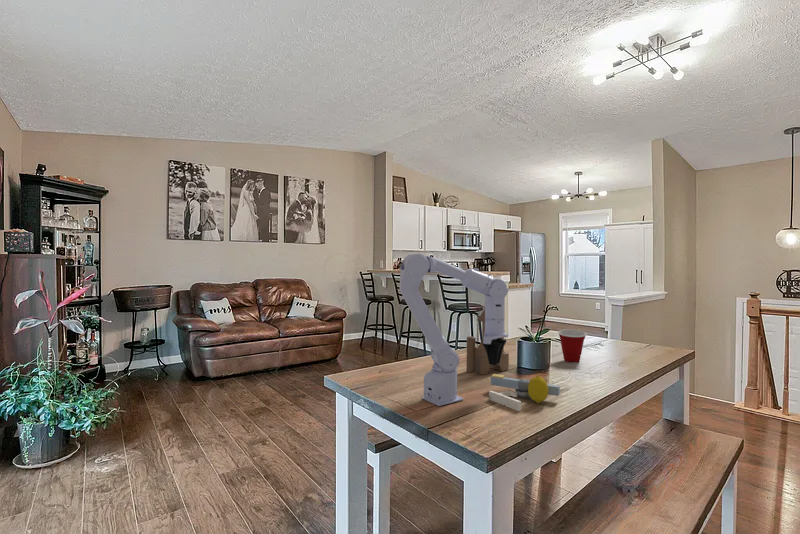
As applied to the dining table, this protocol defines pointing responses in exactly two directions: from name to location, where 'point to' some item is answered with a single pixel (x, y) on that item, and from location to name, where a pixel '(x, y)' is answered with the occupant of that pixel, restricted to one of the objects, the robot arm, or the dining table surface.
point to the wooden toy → (483, 355)
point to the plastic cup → (572, 344)
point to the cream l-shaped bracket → (506, 399)
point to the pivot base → (522, 394)
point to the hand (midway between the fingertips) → (494, 363)
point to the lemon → (538, 389)
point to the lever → (520, 384)
